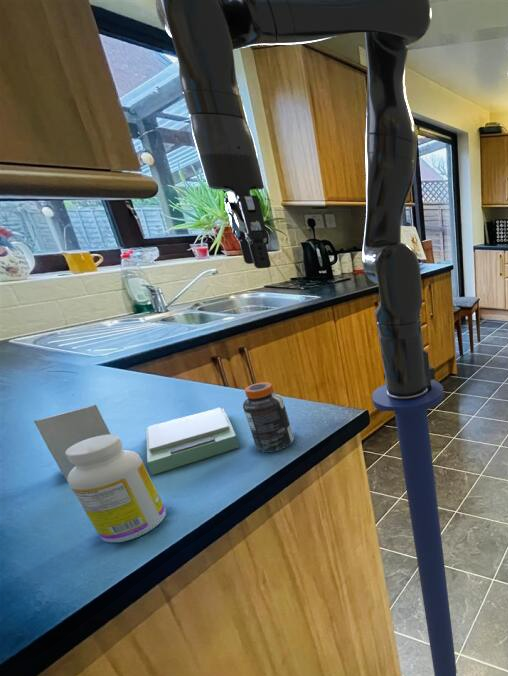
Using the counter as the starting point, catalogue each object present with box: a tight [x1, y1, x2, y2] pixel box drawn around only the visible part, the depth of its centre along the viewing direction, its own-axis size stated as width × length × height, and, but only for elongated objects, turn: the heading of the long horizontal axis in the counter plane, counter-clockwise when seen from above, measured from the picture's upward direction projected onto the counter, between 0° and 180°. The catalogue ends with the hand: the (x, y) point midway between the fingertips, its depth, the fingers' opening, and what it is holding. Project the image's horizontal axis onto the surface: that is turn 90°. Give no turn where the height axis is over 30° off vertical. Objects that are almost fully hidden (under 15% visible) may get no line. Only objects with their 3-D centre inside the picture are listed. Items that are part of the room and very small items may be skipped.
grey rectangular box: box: [33, 404, 112, 482], centre depth 64 cm, size 4×7×10 cm, turn 141°
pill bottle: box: [242, 381, 295, 453], centre depth 69 cm, size 6×6×11 cm
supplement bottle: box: [65, 434, 167, 543], centre depth 50 cm, size 7×7×13 cm
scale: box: [145, 406, 241, 476], centre depth 71 cm, size 12×14×3 cm
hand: (257, 265), depth 67 cm, fingers open, 8 cm apart
